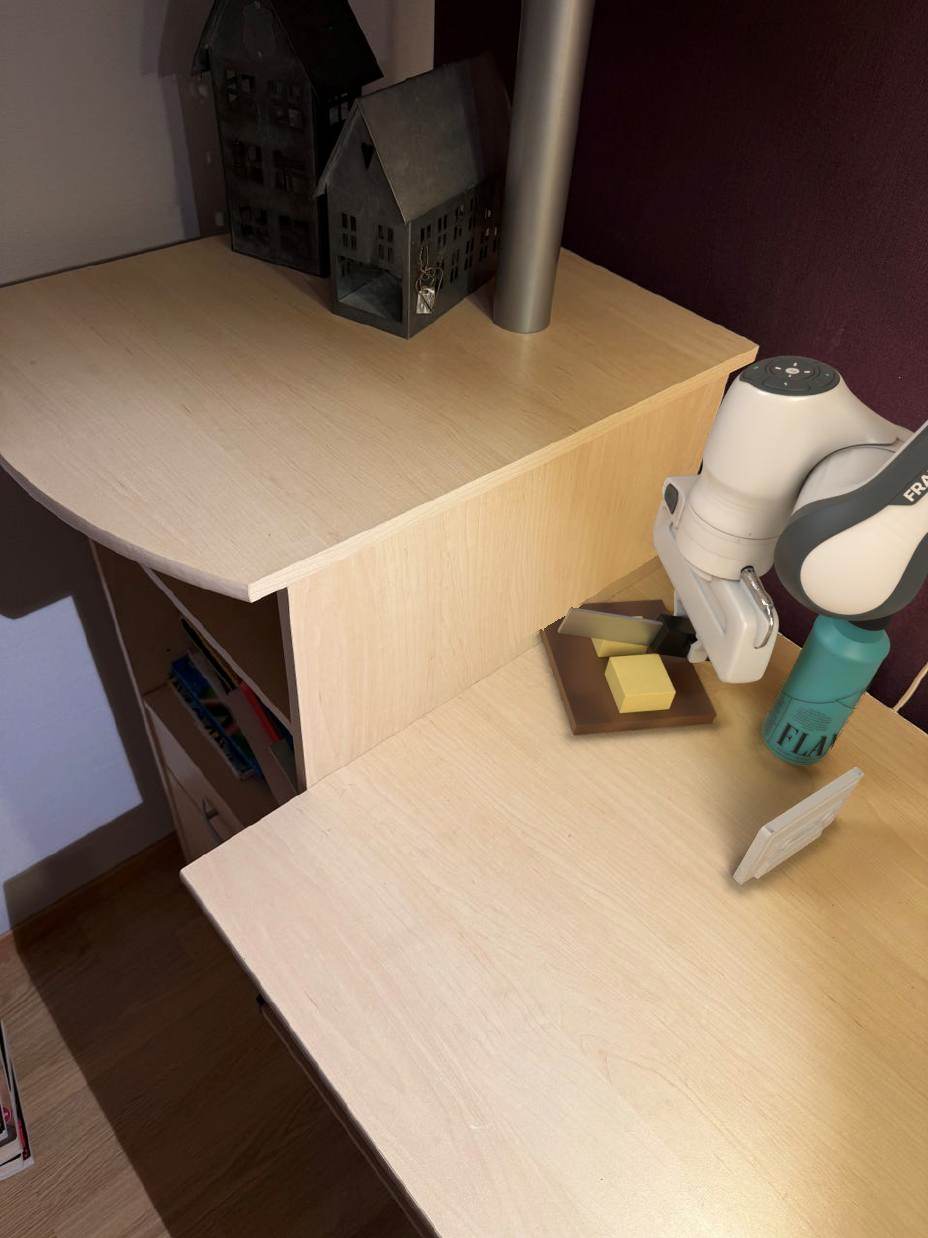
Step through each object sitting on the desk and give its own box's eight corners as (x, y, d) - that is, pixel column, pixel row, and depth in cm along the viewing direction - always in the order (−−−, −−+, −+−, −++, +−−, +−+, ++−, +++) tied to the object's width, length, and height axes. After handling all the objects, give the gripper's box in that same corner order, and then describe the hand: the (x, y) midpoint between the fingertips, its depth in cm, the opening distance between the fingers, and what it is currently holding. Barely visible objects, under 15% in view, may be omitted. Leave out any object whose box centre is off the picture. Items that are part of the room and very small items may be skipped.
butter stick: (652, 670, 90) (658, 653, 88) (669, 709, 86) (676, 692, 84) (604, 674, 89) (609, 656, 87) (619, 713, 85) (625, 696, 83)
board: (658, 609, 98) (662, 599, 97) (712, 724, 87) (717, 714, 86) (534, 616, 96) (536, 605, 95) (573, 735, 85) (576, 725, 84)
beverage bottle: (753, 767, 84) (835, 612, 70) (754, 715, 89) (831, 559, 75) (824, 785, 83) (921, 632, 69) (821, 731, 88) (911, 577, 74)
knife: (711, 646, 92) (727, 624, 90) (720, 663, 90) (737, 640, 88) (554, 623, 86) (568, 598, 84) (561, 640, 84) (575, 615, 82)
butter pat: (636, 633, 93) (642, 615, 91) (645, 654, 91) (651, 636, 89) (589, 636, 92) (594, 618, 91) (598, 657, 90) (603, 639, 88)
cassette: (742, 891, 75) (773, 841, 69) (726, 874, 76) (755, 822, 70) (836, 827, 80) (871, 776, 75) (819, 812, 81) (853, 760, 76)
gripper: (814, 613, 73) (758, 722, 83) (720, 465, 87) (682, 573, 97) (742, 617, 72) (694, 728, 81) (658, 467, 86) (626, 576, 96)
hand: (687, 642), depth 89 cm, fingers closed on knife, 2 cm apart
